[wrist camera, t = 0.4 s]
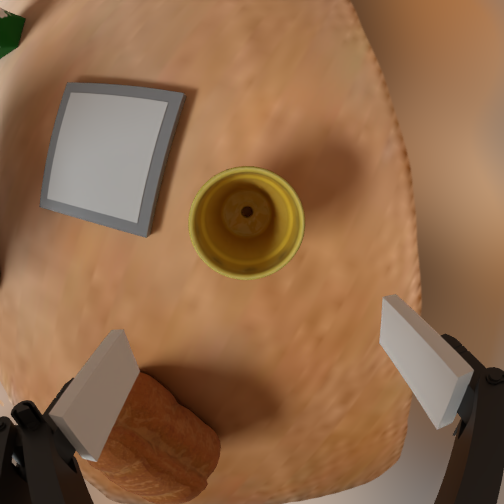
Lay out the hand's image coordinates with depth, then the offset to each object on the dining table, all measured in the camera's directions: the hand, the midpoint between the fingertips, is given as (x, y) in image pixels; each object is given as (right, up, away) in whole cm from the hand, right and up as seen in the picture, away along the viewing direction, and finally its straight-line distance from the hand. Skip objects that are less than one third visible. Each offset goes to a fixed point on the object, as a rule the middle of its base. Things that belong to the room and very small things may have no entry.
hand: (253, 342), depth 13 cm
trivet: (-19, +17, +18) cm, 32 cm away
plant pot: (-1, +9, +21) cm, 23 cm away
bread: (-17, -25, +30) cm, 43 cm away
